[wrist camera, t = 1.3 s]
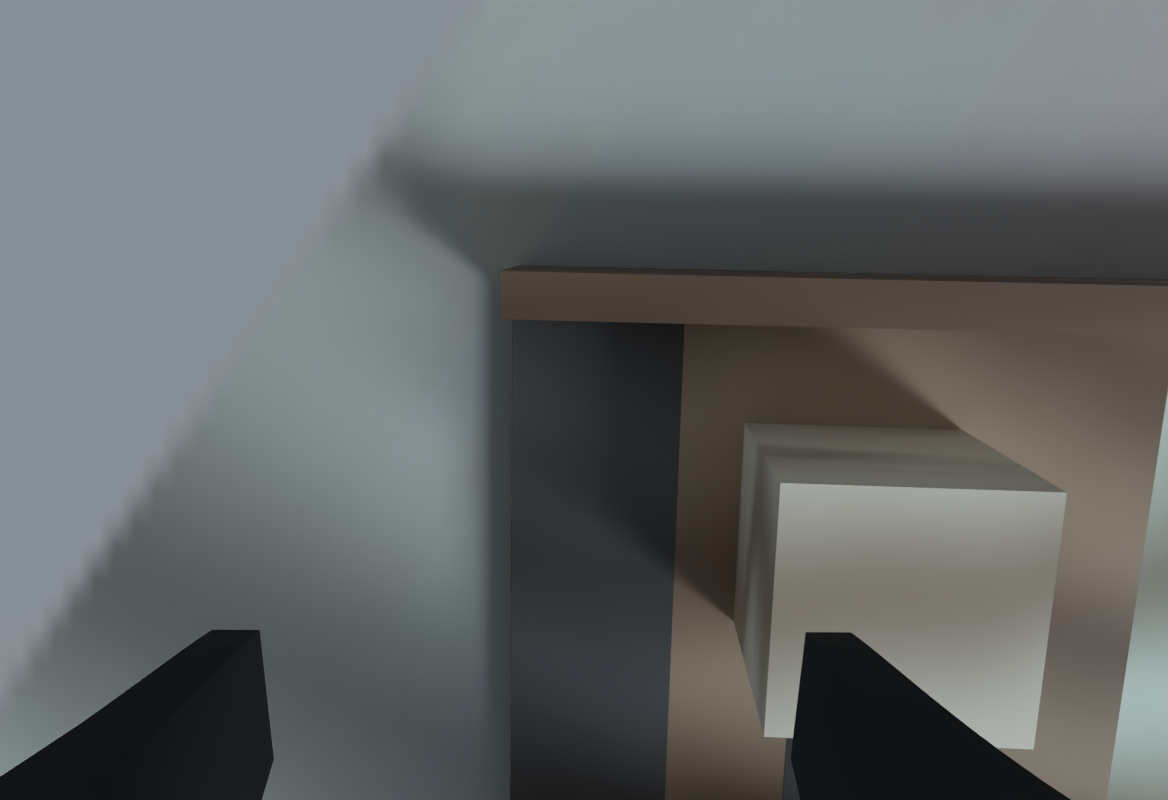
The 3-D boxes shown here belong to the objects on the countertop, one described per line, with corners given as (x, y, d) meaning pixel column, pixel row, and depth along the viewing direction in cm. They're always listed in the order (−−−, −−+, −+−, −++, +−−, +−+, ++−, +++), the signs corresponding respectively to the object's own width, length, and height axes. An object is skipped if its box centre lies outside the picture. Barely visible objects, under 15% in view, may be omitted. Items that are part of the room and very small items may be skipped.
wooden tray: (1381, 897, 23) (1491, 995, 20) (515, 850, 24) (499, 936, 21) (1516, 287, 20) (1670, 297, 17) (517, 265, 21) (499, 271, 18)
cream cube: (940, 629, 21) (1033, 749, 16) (733, 621, 21) (763, 737, 17) (961, 429, 20) (1067, 492, 15) (744, 422, 20) (780, 483, 16)
